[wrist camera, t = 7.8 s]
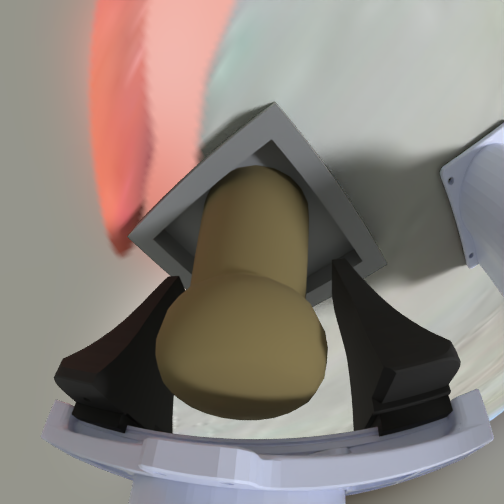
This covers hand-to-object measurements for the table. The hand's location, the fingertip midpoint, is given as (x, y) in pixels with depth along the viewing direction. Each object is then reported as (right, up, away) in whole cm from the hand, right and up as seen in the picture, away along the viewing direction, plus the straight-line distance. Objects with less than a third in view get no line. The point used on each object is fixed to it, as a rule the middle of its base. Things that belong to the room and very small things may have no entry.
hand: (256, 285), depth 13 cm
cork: (0, +4, +3) cm, 5 cm away
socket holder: (0, +3, +4) cm, 5 cm away
